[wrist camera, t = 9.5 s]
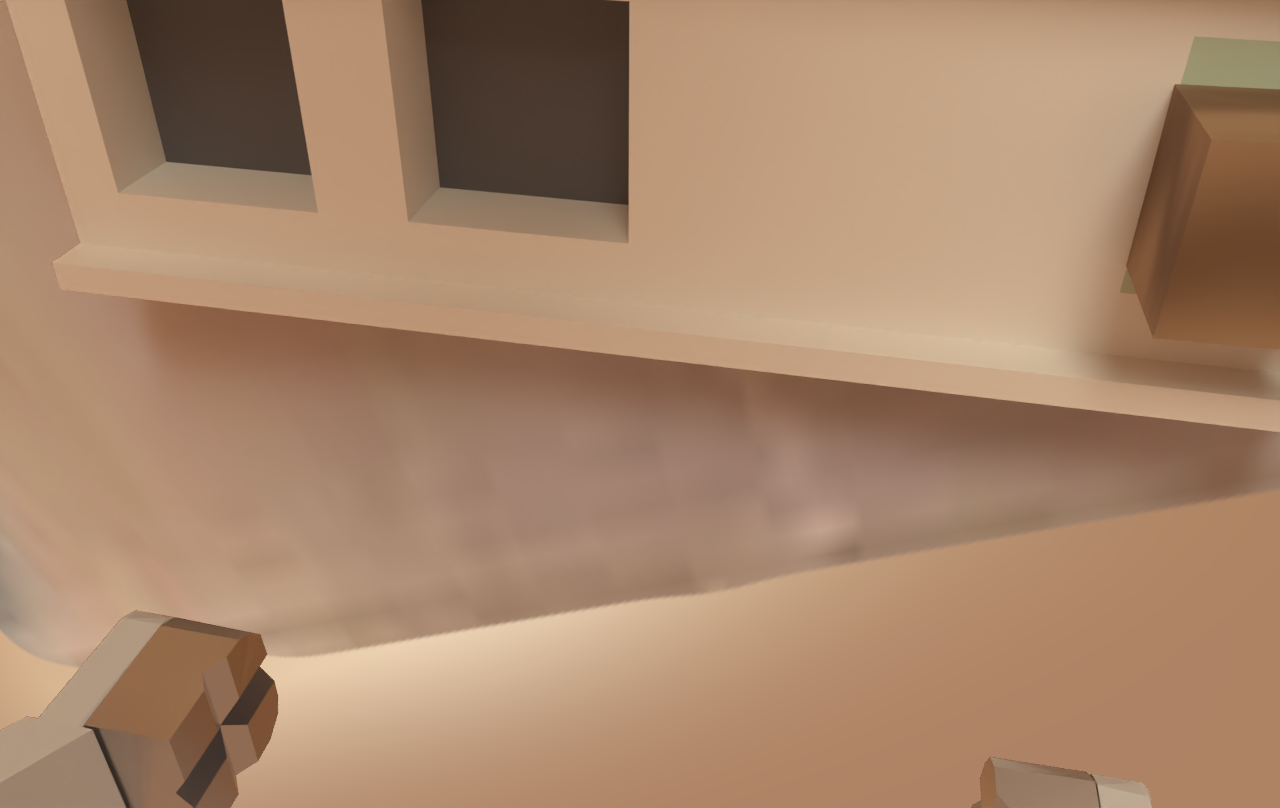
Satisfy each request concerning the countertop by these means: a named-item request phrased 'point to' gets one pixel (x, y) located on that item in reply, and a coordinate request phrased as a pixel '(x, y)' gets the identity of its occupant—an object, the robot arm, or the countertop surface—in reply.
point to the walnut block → (1213, 220)
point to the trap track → (661, 178)
